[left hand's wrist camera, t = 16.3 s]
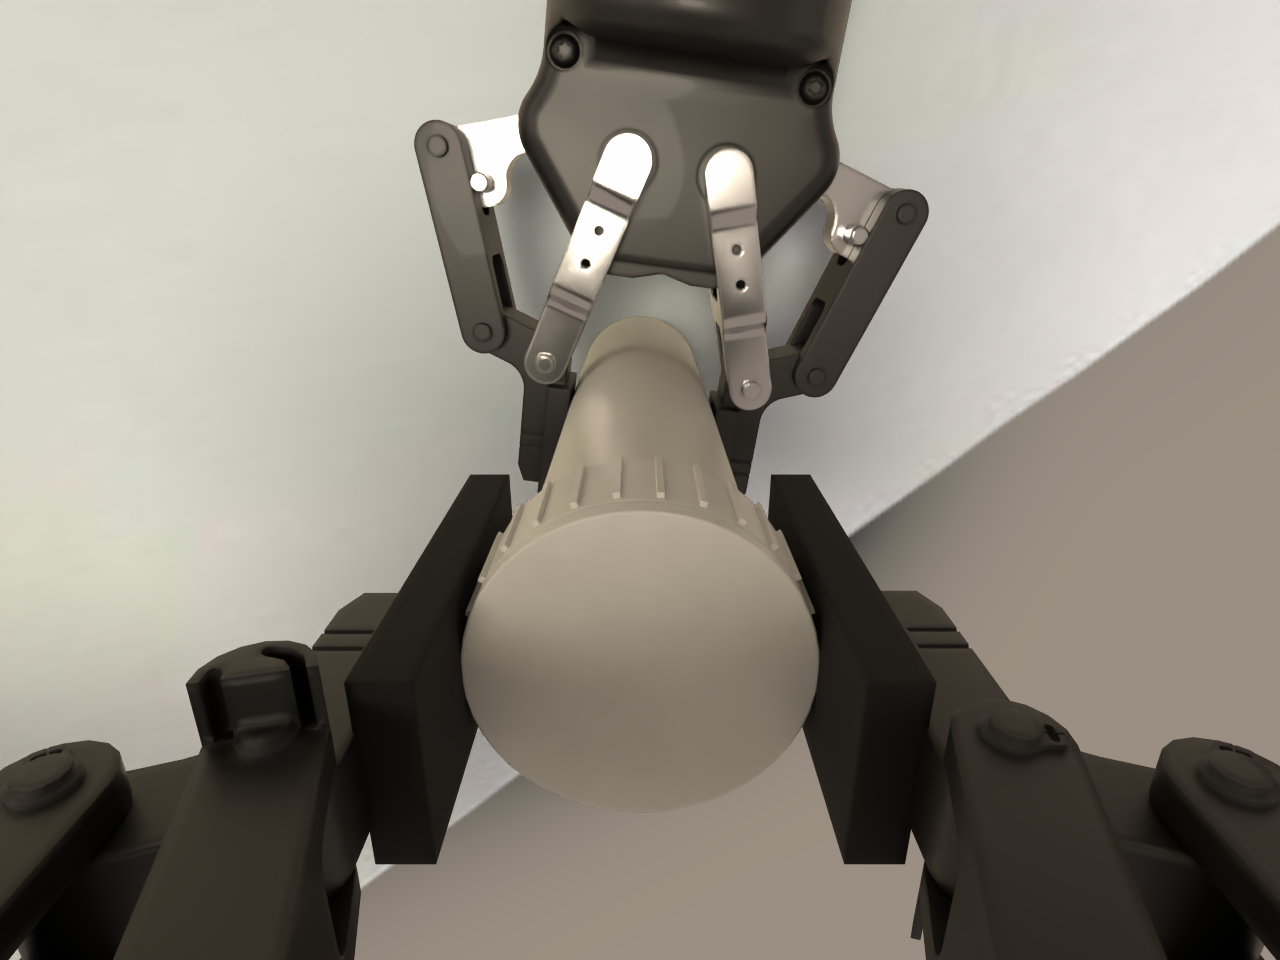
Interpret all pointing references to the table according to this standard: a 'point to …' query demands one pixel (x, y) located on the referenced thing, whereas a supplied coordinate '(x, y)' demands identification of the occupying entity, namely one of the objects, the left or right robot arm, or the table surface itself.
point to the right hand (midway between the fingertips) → (629, 499)
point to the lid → (640, 638)
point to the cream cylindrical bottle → (640, 404)
